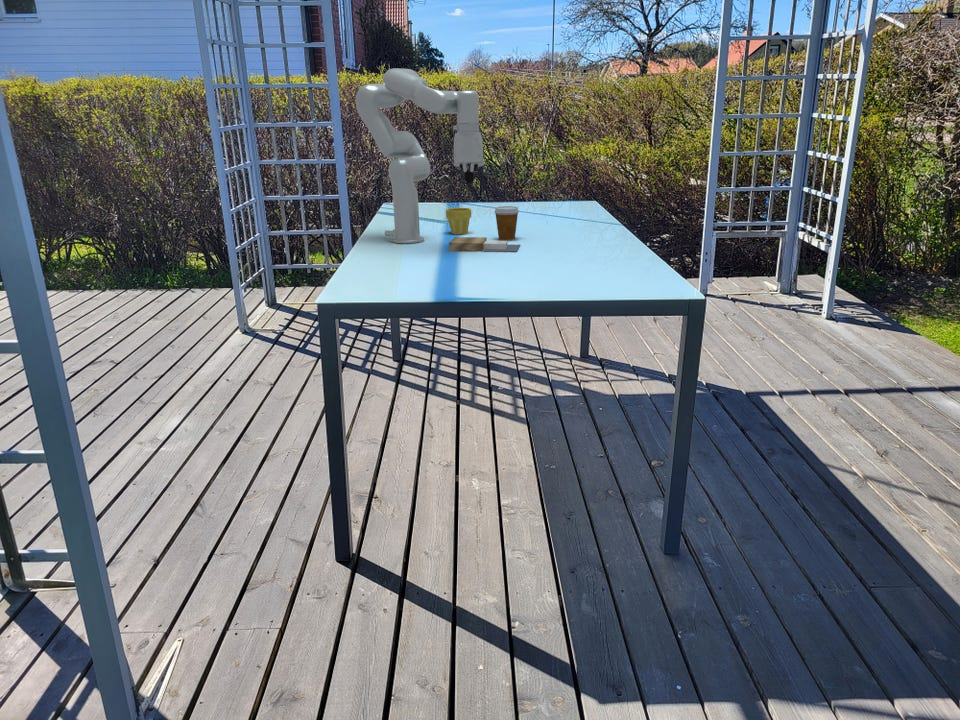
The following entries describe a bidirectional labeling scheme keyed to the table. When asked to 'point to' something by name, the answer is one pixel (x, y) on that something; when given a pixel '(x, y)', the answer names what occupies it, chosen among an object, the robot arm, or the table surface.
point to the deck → (467, 244)
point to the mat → (509, 249)
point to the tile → (495, 245)
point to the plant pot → (458, 219)
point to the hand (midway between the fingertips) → (469, 183)
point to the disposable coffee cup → (506, 222)
